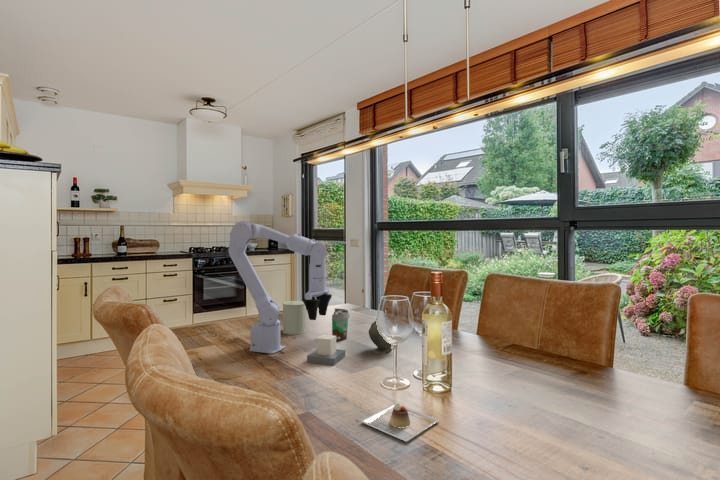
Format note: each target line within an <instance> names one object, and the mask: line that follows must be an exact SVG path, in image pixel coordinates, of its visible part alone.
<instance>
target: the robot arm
mask: <svg viewBox="0 0 720 480" xmlns="http://www.w3.org/2000/svg"><path fill="white" fill-rule="evenodd" d="M302 235H303V234H301V233H299V232H298V233H293V234H290V235H288V234H286V233H283V232H281V231H278V230H276V229H273V228H271V227H268V226H265V225H262V224H259V223H258V224H257V223H252V222H249V221H243V220H242V221H237V222H236V223H235V224H234V225H233V226H232V228H231V230H230V232H229V241H228V242H229V245H228V255H229V258H230V260H231V261H232V262H233V264H234V266H235V268H236V270H237V272H238V273H239V275H240V277H241V278H242V281H243V282H244V285H245V286H246V288H247V290H248V292H249V294H250V296H251V297H252V298H253V301H254V303H255V308H256V309H257V311H258V312H257V313H258V321H257V322H254V323H253V324H252V326H251V328H250V334H249V335H250V338H249V339H250V342H249V343H250V349H248V350H249V352H254V353H262V354H271V355H272V354H276V353H278V352H280V351H281V350H283V349H286V345H281V320H279V313H280V306H279V305H278V303H277V302H275V301H274V300H273V299H272V297H271V296H270V295H269V294H268V292H267V290H266V288H265V286H264V284H263V282H262V281H261V279H260V278H259V275H258V274H257V271H256V270H255V268H254V266H253V264H252V263H251V261H250V258H249V257H248V255H247V253H246V250H247V247H248V246H249V243H250V241H251V240H252V238H254V239H255V238H266V239H268V240H272V241H275V242H278V243H281V244H284V245H286V247H287V249H288V250H289V251H292V252H295V253H297V254H300V255H303V256H309V264H308V265H309V266H308V268H309V270H308V271H309V272H308V273H309V275H308V279H309V280H308V282H309V283H308V284H309V285H308V286H309V288H308V291H307V292H305V293H304V298H302V301H303V302H304V304H305V306H306V313H307V315H308V319H309V321H316V320H317V317H318V316H317V315H318V314H319V316H326V315H327V310H328V307H329V304H330V301H331V298H332V296H333V295H332V294H330V288H329V287H327V263H326V262H327V259H326V257H327V255H328V251H327V250H328V249H327V247H326V246H325V244H323V243H322V242H320V241H316V239H314V238H312V239H311V238H308V237H305V236H302Z"/></svg>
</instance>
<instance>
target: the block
mask: <svg viewBox="0 0 720 480" xmlns="http://www.w3.org/2000/svg"><path fill="white" fill-rule="evenodd" d="M316 349H317V354H319V355H328V356H331V355H332V354H334V353H335V352H336V349H337V341H336V336H333V335H331V334H322V335H320V336H318V337H317V339H316Z"/></svg>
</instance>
